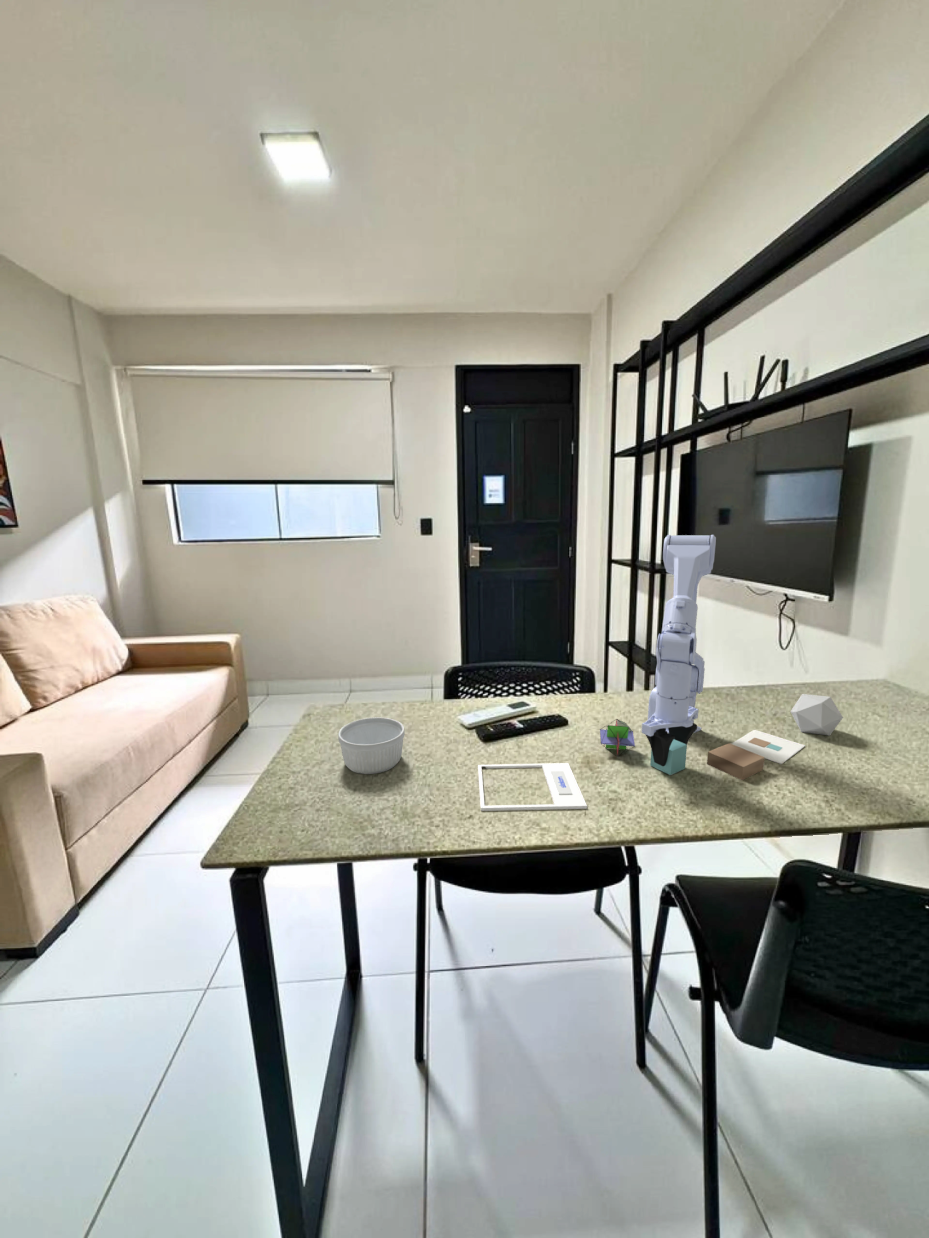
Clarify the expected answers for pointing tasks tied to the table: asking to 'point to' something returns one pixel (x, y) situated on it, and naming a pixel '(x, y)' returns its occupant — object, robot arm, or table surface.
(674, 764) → the teal brick
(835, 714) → the die
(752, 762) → the brown block
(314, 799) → the table surface
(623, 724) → the geometric puzzle
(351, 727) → the ramekin
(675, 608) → the robot arm
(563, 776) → the photo frame
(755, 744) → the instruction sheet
